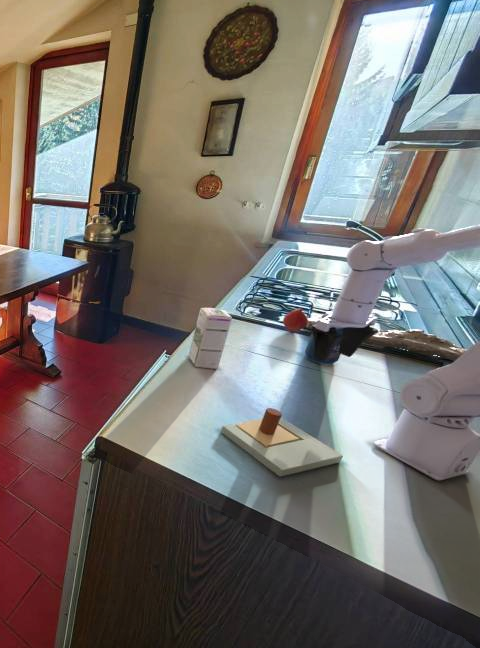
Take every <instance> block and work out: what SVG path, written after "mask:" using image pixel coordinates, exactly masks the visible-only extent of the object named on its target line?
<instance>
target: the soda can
mask: <svg viewBox="0 0 480 648" xmlns="http://www.w3.org/2000/svg"><path fill="white" fill-rule="evenodd" d="M325 317H327V316H326V315H325V314H322V315H321V317H319V318H320V319H319V320H321V319H324V318H325ZM317 323H318V321H317V322H316V324H317ZM336 331H337V333H339V334H342V335H343V328H337V329H336ZM340 343H341V341H340V342H339V343H338V344H337V345H336V346H335V347H334V349H333V350H332V352H331V354H330V355H329V357H328V358H327V359H326V360H325V361H322V360H320V359H318V358H315V357H314V337H313V333H312V332H311V335H310V336H309V339H308V341H307V345H306V347H305V350H304V355H305V358H306V359H308V360H309V361H311V362H314V363H317V364H321V365H325V366H326V365H327V366H329V365H330V366H331V365H333V364H334V363H337V362H338V361H339V360H340V357H341V355H342V354H340V353H339V347H340Z"/></svg>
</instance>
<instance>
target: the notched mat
mask: <svg viewBox="0 0 480 648" xmlns="http://www.w3.org/2000/svg"><path fill="white" fill-rule="evenodd" d="M278 426H280V427H282V428H283V429H285V430H286V431H288V432H289V433H291V434H292V435H294V436H296V437H297V438H299V440H298V441H295V442H291V443H286V444H281V445H277V446H272V447H267V448H265V447H264V446H262V445H261V444H259V443H258V442H257V441H255V440H254V439H252V438H251V437H250V436H248V435H247V434H245V433H244V432H243V431H241V430H240V429H238V428H237V427H236V426H235V424H233V423H230V424H226V425H222V426H221V429H220V433H222V434H223V435H224V436H225V437H227V438H228V439H229V440H231V441H232V442H233V443H235V444H236V445H237V446H239V447H240V448H241V449H242V450H244V451H245V452H247V453H248V454H249V455H250V456H252V457H253V458H254V459H256V460H257V461H258V462H259V463H261V464H262V465H263V466H265V467H266V468H268V469H269V470H270V471H271V472H273V474H276V475H277V476H278V477H280V478H281V477H285V476H289V475H293V474H296V473H297V474H298V473H301V472H305V471H309V470H313V469H318V468H321V467H322V468H323V467H327V466H329V465H335V464H338V463H341V461H342V459H343V457H344V455H343V454H341V453H340V452H338V451H336V450H335V449H333V448H332V447H330V446H328V445H326V444H325V443H323V442H322V441H320V440H318V439H317V438H315V437H314V436H312V435H310V434H308V433H307V432H305V431H304V430H303V429H301V428H299V427H297V426H296V425H294V424H293V423H291V422H290V421H288V420H286V419H285V418H283V417H281V418H280V421H279V423H278Z"/></svg>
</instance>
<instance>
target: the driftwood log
mask: <svg viewBox="0 0 480 648" xmlns="http://www.w3.org/2000/svg"><path fill="white" fill-rule="evenodd" d="M320 318H321V317H317V316H315V317H313V316H311V317H307V319H308V322H307V325H306V327H305V328H306V329H308V330H311V327H312V325H315V324H316V322H317V321H318V320H319V319H320ZM377 330H378V331H377V333H376V334H375V335H373V336H371V337H370V338H369V339H367V340H366V341H365V342H364V343H365V344H368V345H373V346H378V347H379V346H381V347H386V348H392V349H396V350H399V351H401V352H405V353H409V354H418V355H423V356H425V357H428V358H432V359H444V360H451V361H456V360H457V359H458V358H459V357H460V356H461V355H463V354H464V353H465V352H466V351H467V350H468V349H466V348H464V347H462V346H459V345H456V344H454V343H453V342H450V341H449V340H448V339H444V338H442V337H438V336H437V335H436V334H429V333H427V332H425V330H424V329H416V328H415V329H408V330H407V329H406V330H398V329H390V330H388V329H377ZM364 343H363V344H364ZM395 347H396V348H395ZM400 348H402V349H400ZM403 349H405V350H403ZM407 350H408V351H407ZM433 355H437V356H433ZM438 356H440V357H438Z"/></svg>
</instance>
